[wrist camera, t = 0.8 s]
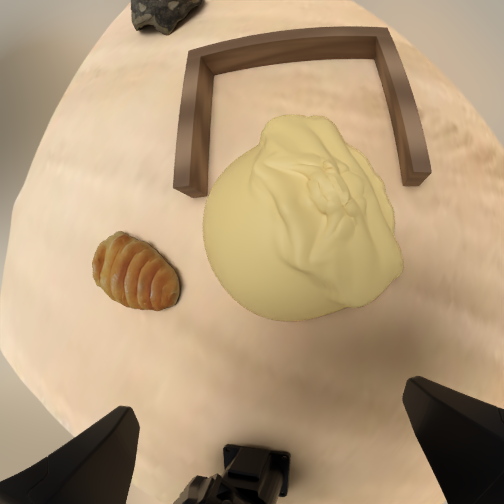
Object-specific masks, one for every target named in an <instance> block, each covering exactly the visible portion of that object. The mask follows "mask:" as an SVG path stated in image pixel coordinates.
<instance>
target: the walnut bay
mask: <svg viewBox="0 0 504 504" xmlns="http://www.w3.org/2000/svg"><path fill="white" fill-rule="evenodd" d="M351 58H362V59H374V60H375V63H376V66H377V69H378V72H379V75H380V79H381V82H382V86H383V89H384V93H385V97H386V100H387V104H388V108H389V113H390V117H391V121H392V126H393V130H394V135H395V140H396V145H397V151H398V157H399V163H400V169H401V176H402V183H403V186H419V185H420V184H421V183H422V182H423V181H424V180H425V179H426V178H427V177H428V176H429V175H430V174H431V173H432V171H431V166H430V160H429V155H428V150H427V146H426V141H425V137H424V133H423V129H422V125H421V121H420V117H419V113H418V110H417V106H416V103H415V100H414V96H413V93H412V90H411V87H410V84H409V81H408V78H407V75H406V72H405V70H404V67H403V64H402V62H401V59H400V56H399V54H398V51H397V49H396V47H395V44H394V42H393V40H392V37H391V35H390V33H389V31H388V28H383V27H318V28H304V29H294V30H285V31H277V32H270V33H264V34H258V35H252V36H247V37H242V38H237V39H232V40H228V41H223V42H219V43H215V44H211V45H207V46H204V47H200V48H197V49H193V50H190V51H189V52H188V58H187V64H186V70H185V76H184V83H183V90H182V98H181V106H180V114H179V123H178V132H177V142H176V153H175V166H174V180H173V188H174V189H176V190H178V191H180V192H182V193H184V194H186V195H188V196H190V197H192V198H194V197H203V196H207V186H208V159H209V138H210V120H211V105H212V91H213V78H214V75H217V74H221V73H226V72H230V71H235V70H241V69H246V68H252V67H258V66H264V65H271V64H279V63H287V62H296V61H307V60H322V59H351Z"/></svg>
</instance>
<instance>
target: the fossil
mask: <svg viewBox="0 0 504 504" xmlns="http://www.w3.org/2000/svg"><path fill="white" fill-rule="evenodd" d="M201 2H202V0H131V10H132V23H133V25H134V27H135V29H136V31H138V30H141V29H142V28H143V27H144V26H145V25H147V24H149V25H154V26H155V28H156V30H157V31H159V32H162V33H163V34H165V35H169V34H170V33H171V32H172V30H173V29H174V27H175V25H176V24H177V21H180V20H181V19H183V18H185V17H186V15H187V14H188V13H189V11H190V10H191V9H192V8H194V7H195V6H198V5H200V4H201Z"/></svg>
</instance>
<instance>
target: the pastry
mask: <svg viewBox="0 0 504 504" xmlns="http://www.w3.org/2000/svg"><path fill="white" fill-rule="evenodd" d="M92 267H93V278H94V280H95V282H96V284H97V286H99V287H101V288H102V289H103V290H104V291H105V293H106V294H107V295H108V296H109V297H110V298H111V299H112V300H114V301H117V302H119V303H121V304H122V305H124V306H126V307H131V308H133V309H141V310H155V311H160V310H163V309H165V308H168V307H171V306H173V305H175V304H176V302H177V299H178V296H179V281H178V277H177V275H176V273H175V270H174V269H173V268H172V267H171V266H170V265H169V264H168V263H167V262H166V261H165V260H164V258H163V257H162V256H161V255H160V254H159V253H158V252H157V250H155V249H153V248H152V247H151V246H150V245H149V244H148V243H147V242H145V241H138V240H137V239H135V238H133V237H130V236H128V235H127V234H125V233H124V232H122V231H118V232H116V233H115V234H114V235H112V236H109V237H108V238H107V239H106V240H105V241H103V242H101V244H100V245H99V246H98V248H97V250H96V252H95V255H94V258H93V262H92Z"/></svg>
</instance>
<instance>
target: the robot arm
mask: <svg viewBox="0 0 504 504" xmlns="http://www.w3.org/2000/svg"><path fill="white" fill-rule="evenodd" d="M403 404H404V406H405V409H406V411H407V414H408V417H409V419H410V422H411V425H412V428H413V430H414V433H415V435H416V437H417V440H418V442H419V444H420V446H421V448H422V450H423V452H424V454H425V456H426V458H427V460H428V462H429V464H430V466H431V468H432V470H433V472H434V474H435V476H436V478H437V481H438V483H439V485H440V487H441V489H442V492H443V494H444V496H445V498H446V500H447V503H448V504H504V409H502V408H498V407H496V406H494V405H491V404H488V403H486V402H483V401H480V400H478V399H475V398H473V397H470V396H467V395H465V394H462V393H460V392H457V391H455V390H452V389H450V388H447V387H445V386H443V385H440V384H438V383H435V382H433V381H430V380H428V379H426V378H423V377H421V376H415V377H412V378H409V379H408V380H407V382H406V386H405V390H404V393H403ZM139 431H140V426H139V422H138V420H137V418H136V416H135V413H134V411H133V409H132V408H131V407H129V406H118V407H117V408H115V409H114V410H113V411H111V412H110V413H109V414H107V415H106V416H104V417H103V418H102V419H100V420H99V421H97V422H96V423H95V424H93V425H92V426H90V427H89V428H88V429H86V430H85V431H83V432H82V433H81V434H79V435H78V436H76V437H75V438H73V439H72V440H70V441H69V442H68V443H66V444H65V445H63V446H62V447H60V448H59V449H57V450H56V451H54V452H53V453H51V454H50V455H49V456H48V457H45V458H44V459H42V460H41V461H39V462H37V463H36V464H34V465H33V466H31V467H29V468H27V469H25V470H24V471H22V472H20V473H18V474H16V475H14V476H12V477H10V478H7V479H5V480H3V481H1V482H0V504H126V500H127V496H128V491H129V487H130V483H131V479H132V475H133V471H134V467H135V461H136V453H137V445H138V438H139ZM228 449H230V450H228ZM223 454H224V467H225V471H224V472H223V474H222V475H221V476H220V475H219V474H218V473H217V474H215V475H213V476H211V477H210V478H207V477H202V476H198V475H197V476H196V477H194V478H193V479H192V480H191V481H190V483H189V484H188V485H187V486H186V488H185V489H184V491H183V492H182V493H181V494H180V497H179V498H178V499H177V500H176V501H175V502H174V503H173V504H276V502H277V499H278V497H285V496H286V495H287V492H288V482H289V470H290V457H291V456H290V454H289V453H288V452H279V451H270V450H262V449H254V448H247V447H240V446H234V445H226V446H225V447H224V448H223ZM283 456H286V457H287V458H284V457H283Z"/></svg>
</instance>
